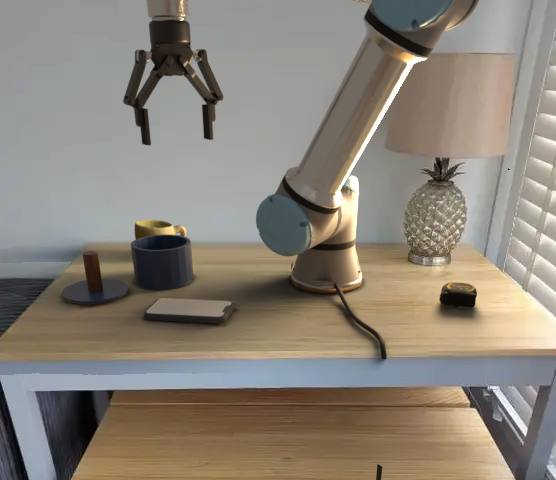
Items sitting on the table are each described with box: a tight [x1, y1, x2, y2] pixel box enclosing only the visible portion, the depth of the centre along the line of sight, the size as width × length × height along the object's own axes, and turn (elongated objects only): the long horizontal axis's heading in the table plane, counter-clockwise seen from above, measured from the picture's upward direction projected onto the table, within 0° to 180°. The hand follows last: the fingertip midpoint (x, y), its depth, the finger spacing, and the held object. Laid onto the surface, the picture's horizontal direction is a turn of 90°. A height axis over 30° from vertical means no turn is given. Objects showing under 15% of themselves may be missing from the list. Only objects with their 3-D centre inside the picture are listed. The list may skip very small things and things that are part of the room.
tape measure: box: [439, 281, 478, 309], centre depth 121 cm, size 7×7×4 cm
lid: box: [61, 250, 130, 305], centre depth 126 cm, size 14×14×9 cm
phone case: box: [143, 297, 235, 325], centre depth 118 cm, size 9×2×16 cm
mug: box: [134, 219, 187, 240], centre depth 149 cm, size 12×10×10 cm
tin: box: [130, 234, 194, 291], centre depth 133 cm, size 13×13×8 cm
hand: (178, 142), depth 123 cm, fingers open, 13 cm apart
